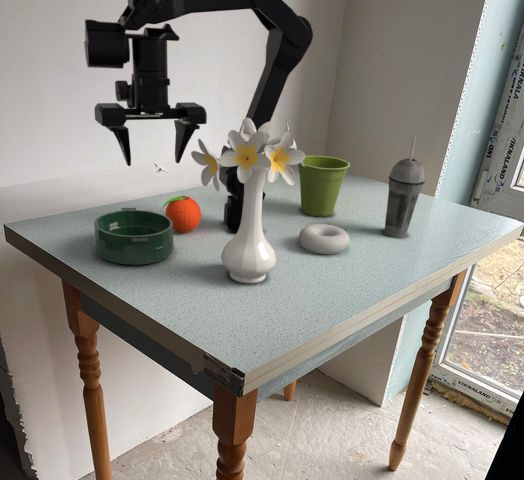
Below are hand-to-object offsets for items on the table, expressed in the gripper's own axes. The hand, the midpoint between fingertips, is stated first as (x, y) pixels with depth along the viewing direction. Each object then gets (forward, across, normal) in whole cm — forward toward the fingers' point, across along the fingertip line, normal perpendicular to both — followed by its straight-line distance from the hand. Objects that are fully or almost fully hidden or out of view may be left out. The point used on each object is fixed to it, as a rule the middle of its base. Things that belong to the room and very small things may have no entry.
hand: (153, 164), depth 103 cm
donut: (+14, -29, +16) cm, 36 cm away
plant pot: (+14, -39, -2) cm, 41 cm away
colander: (+13, +7, +8) cm, 17 cm away
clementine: (+13, -5, +1) cm, 14 cm away
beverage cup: (+14, -48, +15) cm, 52 cm away
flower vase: (+13, -8, +25) cm, 29 cm away
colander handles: (+8, +7, +8) cm, 14 cm away
